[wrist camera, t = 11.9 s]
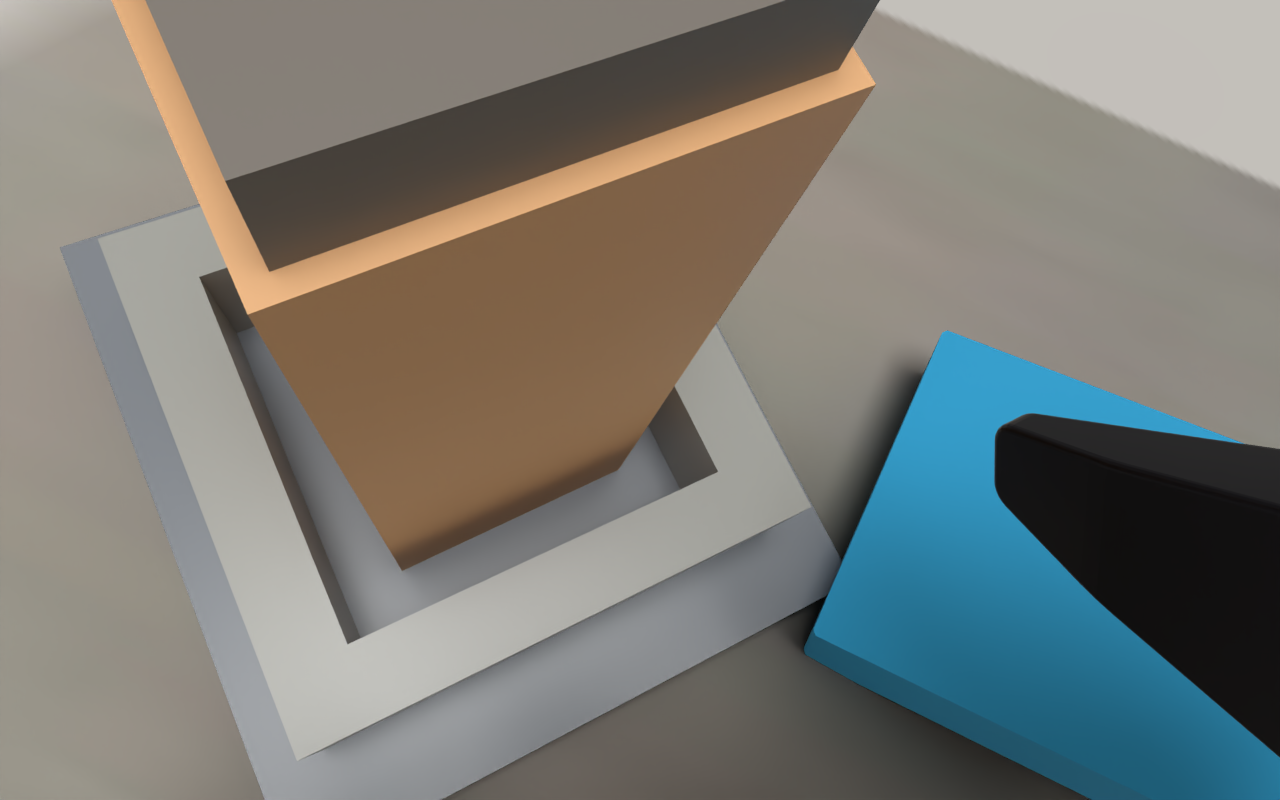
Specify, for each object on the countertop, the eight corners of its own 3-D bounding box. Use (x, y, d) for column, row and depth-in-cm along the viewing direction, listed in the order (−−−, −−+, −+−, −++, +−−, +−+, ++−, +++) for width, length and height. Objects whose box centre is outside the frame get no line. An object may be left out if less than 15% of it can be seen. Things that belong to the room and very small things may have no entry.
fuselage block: (618, 469, 18) (945, -18, 5) (402, 571, 16) (195, 232, 4) (521, 276, 19) (615, -521, 6) (308, 359, 17) (-90, -437, 5)
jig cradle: (833, 587, 19) (910, 565, 15) (304, 866, 16) (259, 914, 12) (584, 109, 21) (605, 2, 18) (81, 270, 18) (-6, 177, 15)
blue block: (784, 686, 23) (1621, 1110, 18) (811, 633, 16) (2104, 1262, 12) (886, 453, 25) (1650, 777, 21) (943, 328, 19) (2067, 757, 14)
